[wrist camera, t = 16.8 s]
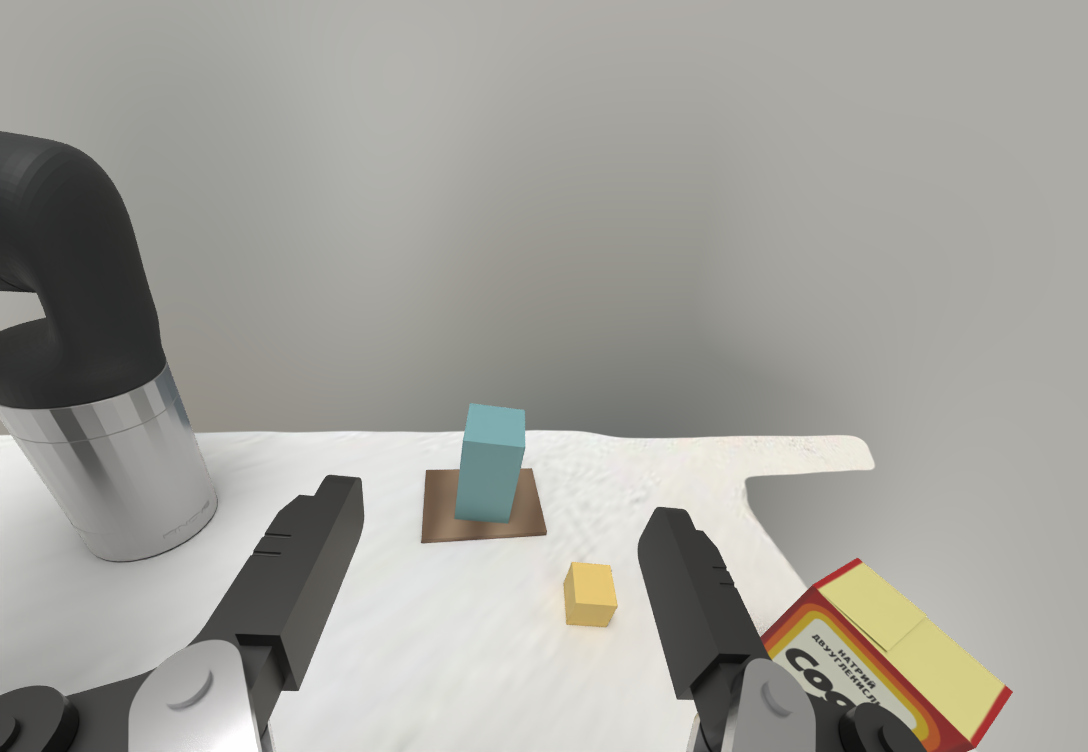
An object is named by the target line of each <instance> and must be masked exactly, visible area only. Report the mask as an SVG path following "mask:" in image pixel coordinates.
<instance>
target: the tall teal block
mask: <svg viewBox="0 0 1088 752" xmlns="http://www.w3.org/2000/svg"><path fill="white" fill-rule="evenodd" d="M524 451H525V410H519V409H510V408H503V407H494V406H487V405H479V404H472V403H470V407H469V412H468V417H467V423H466V428H465V433H464V438H463V445H462V454H461V463H460V472H459V481H458V490H457V499H456V508H455V517H454V519H458V520H470V521H482V522H494V523H506V524H508V522H509V517H510V513H511V508H512V504H513V499H514V495H515V491H516V486H517V482H518V477H519V473H520V468H521V464H522V460H523V455H524Z"/></svg>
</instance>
